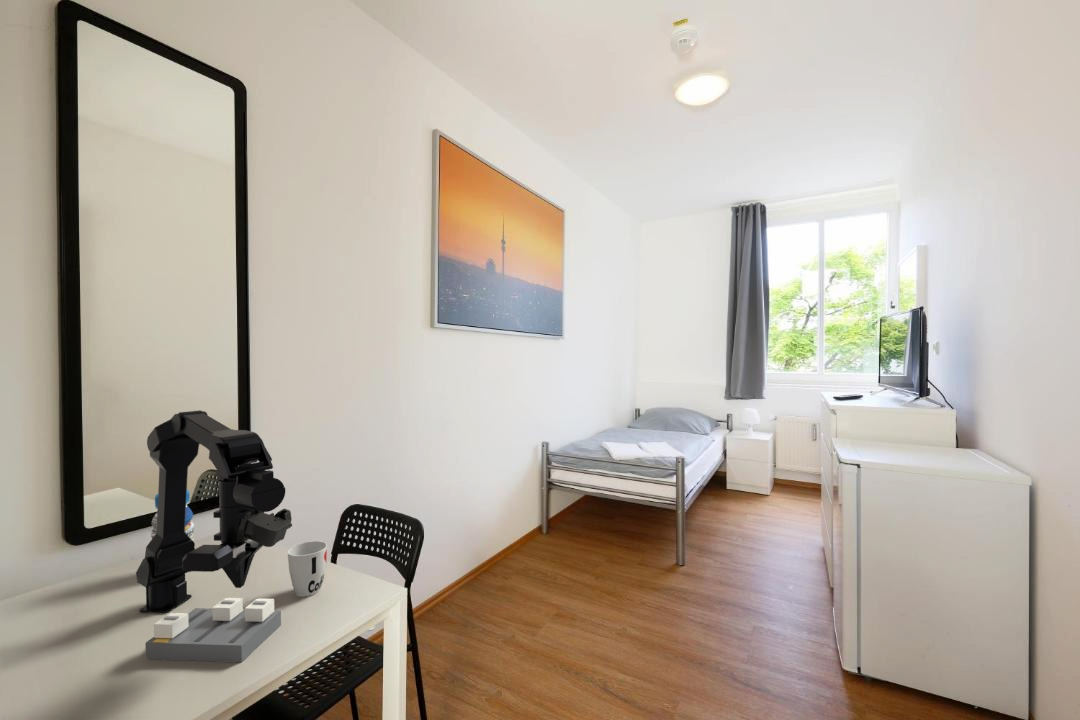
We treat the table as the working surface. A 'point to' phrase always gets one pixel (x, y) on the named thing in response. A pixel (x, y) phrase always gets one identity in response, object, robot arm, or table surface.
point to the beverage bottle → (188, 519)
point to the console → (214, 638)
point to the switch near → (171, 625)
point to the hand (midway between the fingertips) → (239, 586)
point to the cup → (307, 567)
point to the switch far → (259, 610)
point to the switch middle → (227, 609)
